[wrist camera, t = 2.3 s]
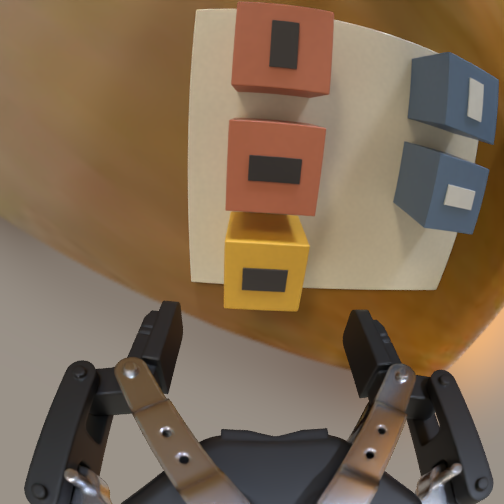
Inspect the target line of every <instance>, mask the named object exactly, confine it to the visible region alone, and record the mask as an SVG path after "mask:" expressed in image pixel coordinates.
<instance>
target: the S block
mask: <svg viewBox="0 0 504 504" xmlns="http://www.w3.org/2000/svg"><path fill="white" fill-rule="evenodd" d="M309 249H310V245H309V243H308V240H307V237H306V235H305V232H304V230H303V227H302V224H301V222H300V219H299V217H298V216H294V215H280V214H265V213H249V212H231V213H230V218H229V223H228V227H227V232H226V237H225V245H224V308H230V309H247V310H268V311H298V308H299V303H300V298H301V293H302V288H303V283H304V277H305V272H306V266H307V261H308V255H309Z"/></svg>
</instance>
